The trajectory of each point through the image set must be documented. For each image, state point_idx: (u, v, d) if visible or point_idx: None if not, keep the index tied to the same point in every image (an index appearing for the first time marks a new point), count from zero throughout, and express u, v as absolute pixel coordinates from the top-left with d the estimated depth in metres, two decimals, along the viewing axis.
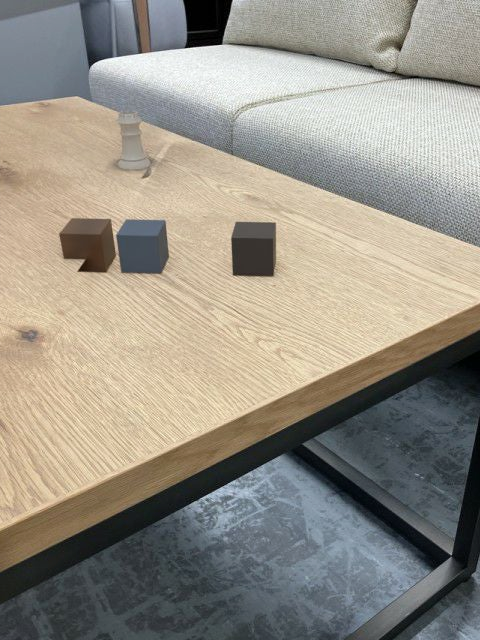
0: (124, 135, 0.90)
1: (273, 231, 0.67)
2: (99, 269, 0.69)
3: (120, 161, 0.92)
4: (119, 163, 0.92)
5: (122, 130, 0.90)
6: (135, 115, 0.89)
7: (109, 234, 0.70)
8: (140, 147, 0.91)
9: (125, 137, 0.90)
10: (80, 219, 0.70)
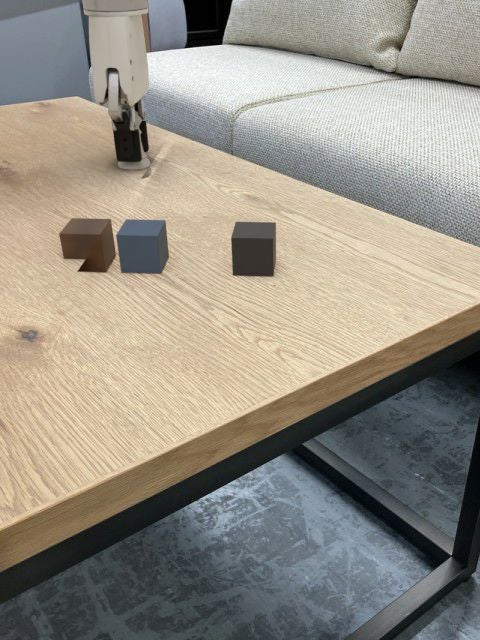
0: None
1: (273, 231, 0.67)
2: (99, 269, 0.69)
3: None
4: (119, 163, 0.92)
5: None
6: (135, 115, 0.89)
7: (109, 234, 0.70)
8: None
9: None
10: (80, 219, 0.70)
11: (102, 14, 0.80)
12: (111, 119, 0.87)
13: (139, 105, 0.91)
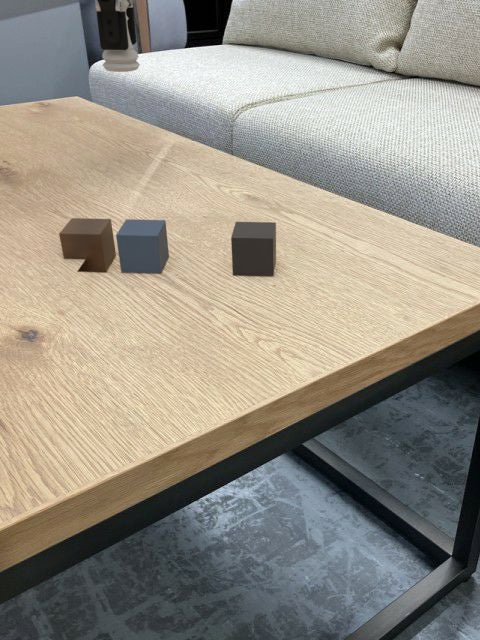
0: None
1: (273, 231, 0.67)
2: (99, 269, 0.69)
3: (105, 51, 0.83)
4: (103, 54, 0.83)
5: None
6: None
7: (109, 234, 0.70)
8: None
9: None
10: (80, 219, 0.70)
11: None
12: None
13: None
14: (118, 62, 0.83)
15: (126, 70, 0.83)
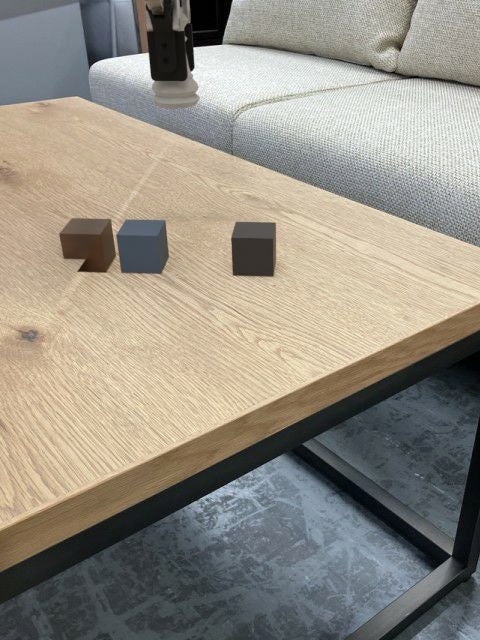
0: None
1: (273, 231, 0.67)
2: (99, 269, 0.69)
3: (155, 82, 0.64)
4: (154, 85, 0.64)
5: None
6: None
7: (109, 234, 0.70)
8: None
9: None
10: (80, 219, 0.70)
11: None
12: None
13: None
14: (173, 96, 0.63)
15: (184, 106, 0.64)
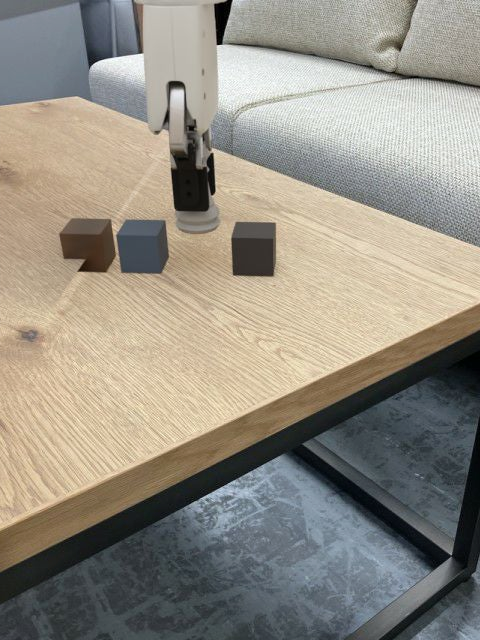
0: None
1: (273, 231, 0.67)
2: (99, 269, 0.69)
3: None
4: (177, 212, 0.66)
5: None
6: None
7: (109, 234, 0.70)
8: None
9: None
10: (80, 219, 0.70)
11: (163, 2, 0.54)
12: (170, 154, 0.61)
13: (205, 132, 0.65)
14: (195, 224, 0.66)
15: (205, 232, 0.66)
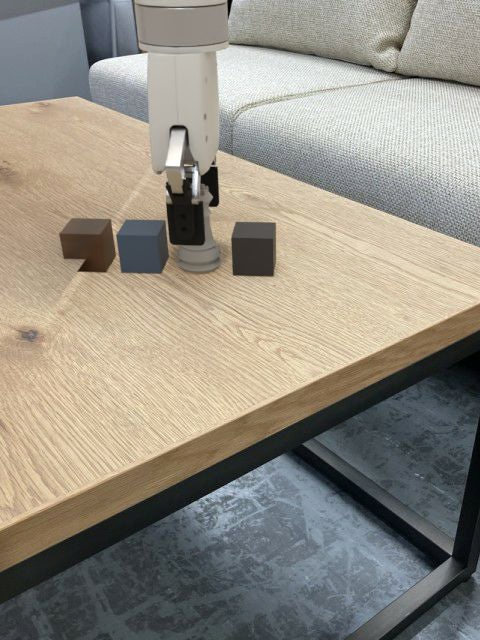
0: None
1: (273, 231, 0.67)
2: (99, 269, 0.69)
3: (181, 250, 0.68)
4: (180, 253, 0.68)
5: None
6: (205, 192, 0.65)
7: (109, 234, 0.70)
8: (209, 232, 0.67)
9: None
10: (80, 219, 0.70)
11: (167, 50, 0.56)
12: (166, 185, 0.60)
13: None
14: (198, 264, 0.68)
15: (207, 272, 0.68)
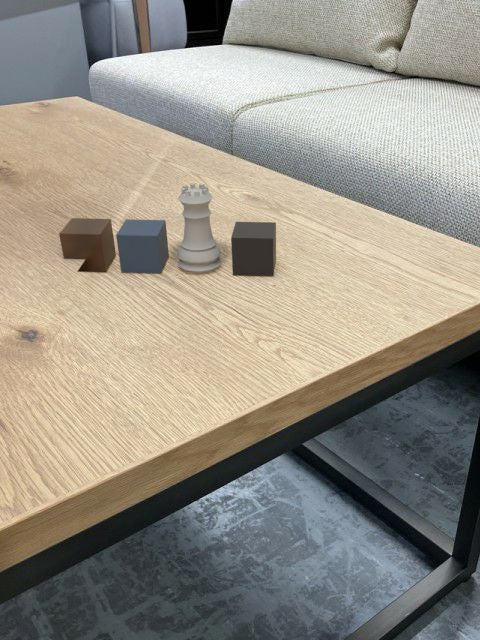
0: (189, 218, 0.66)
1: (273, 231, 0.67)
2: (99, 269, 0.69)
3: (181, 250, 0.68)
4: (180, 253, 0.68)
5: (186, 211, 0.66)
6: (205, 192, 0.65)
7: (109, 234, 0.70)
8: (209, 232, 0.67)
9: (190, 220, 0.66)
10: (80, 219, 0.70)
11: None
12: None
13: None
14: (198, 264, 0.68)
15: (207, 272, 0.68)
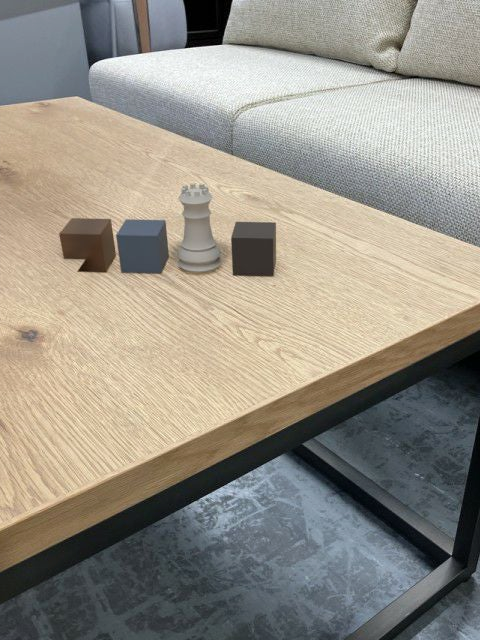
0: (189, 218, 0.66)
1: (273, 231, 0.67)
2: (99, 269, 0.69)
3: (181, 250, 0.68)
4: (180, 253, 0.68)
5: (186, 211, 0.66)
6: (205, 192, 0.65)
7: (109, 234, 0.70)
8: (209, 232, 0.67)
9: (190, 220, 0.66)
10: (80, 219, 0.70)
11: None
12: None
13: None
14: (198, 264, 0.68)
15: (207, 272, 0.68)
